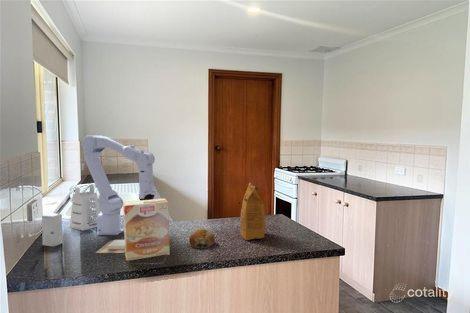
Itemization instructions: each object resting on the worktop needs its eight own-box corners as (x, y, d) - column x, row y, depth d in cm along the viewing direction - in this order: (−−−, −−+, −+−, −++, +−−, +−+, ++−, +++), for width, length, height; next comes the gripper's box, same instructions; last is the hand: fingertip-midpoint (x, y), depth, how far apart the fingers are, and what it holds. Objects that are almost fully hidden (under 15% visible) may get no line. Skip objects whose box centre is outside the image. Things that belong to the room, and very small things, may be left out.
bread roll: (217, 252, 129) (219, 231, 132) (207, 249, 120) (210, 227, 123) (194, 249, 132) (197, 229, 135) (183, 246, 123) (187, 225, 126)
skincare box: (42, 245, 129) (40, 215, 128) (51, 241, 133) (49, 212, 132) (54, 246, 127) (52, 216, 126) (63, 243, 131) (61, 213, 130)
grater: (102, 224, 158) (101, 184, 156) (82, 230, 149) (80, 187, 147) (89, 222, 163) (88, 182, 162) (69, 227, 154) (67, 185, 153)
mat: (95, 253, 119) (94, 252, 119) (110, 241, 133) (110, 240, 133) (133, 253, 118) (133, 252, 118) (144, 241, 132) (144, 240, 132)
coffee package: (261, 231, 143) (260, 181, 141) (267, 240, 131) (266, 186, 129) (239, 232, 142) (238, 182, 140) (242, 241, 130) (241, 187, 128)
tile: (114, 243, 128) (107, 250, 121) (114, 239, 128) (107, 245, 121) (132, 243, 128) (126, 249, 121) (132, 239, 128) (126, 245, 121)
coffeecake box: (126, 262, 111) (124, 205, 109) (124, 255, 117) (122, 201, 116) (170, 255, 116) (168, 201, 115) (166, 248, 123) (164, 197, 122)
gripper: (150, 183, 132) (151, 216, 132) (159, 178, 146) (161, 208, 147) (133, 183, 132) (134, 216, 133) (144, 178, 146) (145, 208, 147)
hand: (147, 212), depth 140 cm, fingers closed
